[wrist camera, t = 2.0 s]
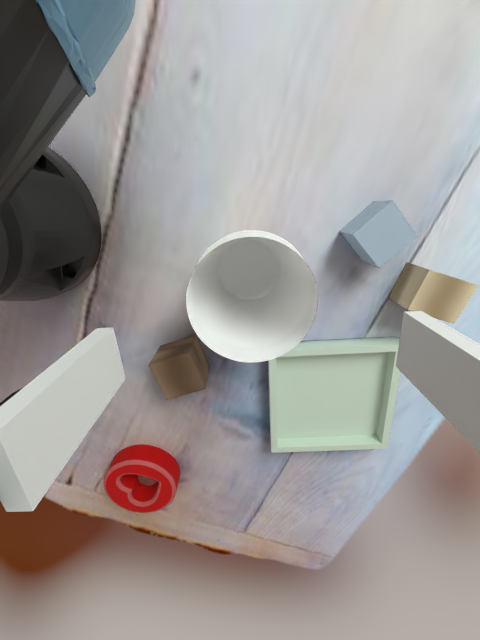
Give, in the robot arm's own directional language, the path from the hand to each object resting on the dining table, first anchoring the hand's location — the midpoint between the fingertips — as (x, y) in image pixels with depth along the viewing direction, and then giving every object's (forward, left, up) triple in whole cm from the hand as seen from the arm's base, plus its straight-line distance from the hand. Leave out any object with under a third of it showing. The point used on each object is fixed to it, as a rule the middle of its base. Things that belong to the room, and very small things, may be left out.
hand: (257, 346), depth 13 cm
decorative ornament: (-16, -28, -18) cm, 37 cm away
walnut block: (-8, -10, -18) cm, 22 cm away
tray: (+9, -16, -18) cm, 26 cm away
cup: (0, 0, -18) cm, 18 cm away
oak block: (+18, -3, -18) cm, 26 cm away
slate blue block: (+12, +3, -18) cm, 22 cm away
